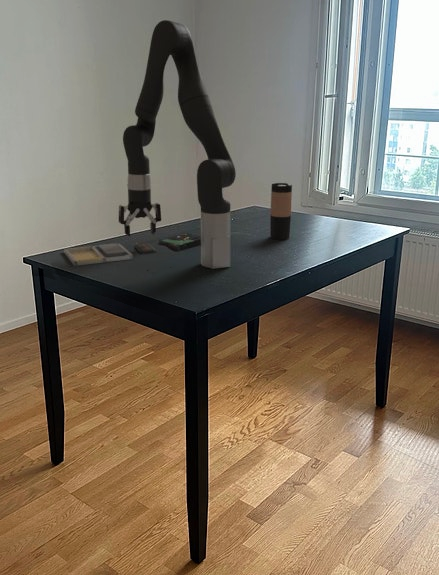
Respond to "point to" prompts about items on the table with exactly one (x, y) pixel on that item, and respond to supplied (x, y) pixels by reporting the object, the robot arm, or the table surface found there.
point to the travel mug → (280, 211)
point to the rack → (93, 255)
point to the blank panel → (110, 250)
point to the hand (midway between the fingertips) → (140, 234)
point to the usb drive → (145, 248)
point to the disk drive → (181, 241)
